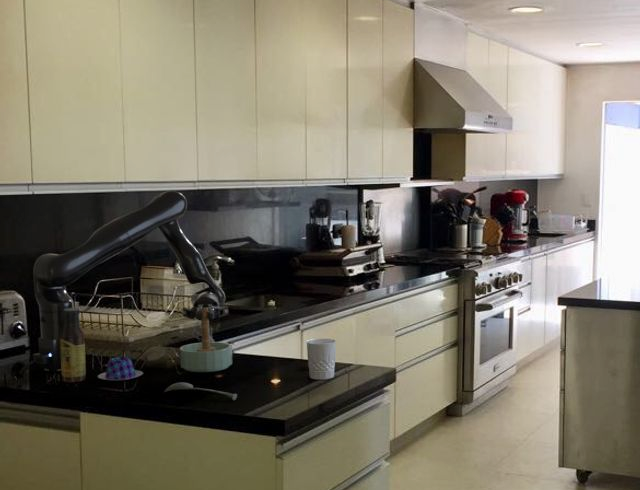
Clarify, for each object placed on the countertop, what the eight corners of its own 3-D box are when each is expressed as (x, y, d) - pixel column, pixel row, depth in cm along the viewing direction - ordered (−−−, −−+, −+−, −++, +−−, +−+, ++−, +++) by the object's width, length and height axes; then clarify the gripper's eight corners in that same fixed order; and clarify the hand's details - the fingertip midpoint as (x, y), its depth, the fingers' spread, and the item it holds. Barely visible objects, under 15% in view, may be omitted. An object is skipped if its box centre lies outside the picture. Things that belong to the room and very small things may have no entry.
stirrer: (206, 354, 265) (204, 309, 263) (193, 353, 267) (191, 308, 266) (219, 351, 269) (217, 307, 267) (206, 349, 272) (204, 305, 270)
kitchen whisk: (207, 356, 283) (206, 336, 282) (190, 338, 314) (190, 320, 313) (227, 355, 285) (226, 334, 284) (209, 337, 316) (208, 318, 316)
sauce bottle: (58, 380, 254) (54, 308, 251) (81, 377, 258) (77, 306, 255) (67, 384, 249) (62, 311, 246) (90, 381, 253) (86, 309, 250)
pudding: (122, 370, 265) (121, 352, 264) (152, 375, 259) (151, 356, 258) (88, 379, 255) (87, 360, 254) (118, 384, 249) (117, 365, 248)
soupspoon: (176, 391, 244) (159, 397, 238) (175, 378, 243) (157, 385, 237) (243, 396, 233) (226, 404, 228) (242, 383, 233) (225, 390, 227)
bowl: (207, 375, 259) (206, 353, 258) (169, 369, 266) (168, 348, 265) (242, 365, 271) (242, 344, 270) (206, 360, 279) (205, 340, 278)
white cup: (340, 374, 257) (339, 339, 256) (330, 381, 250) (329, 344, 249) (314, 373, 260) (313, 338, 258) (303, 379, 252) (302, 343, 251)
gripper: (182, 295, 279) (178, 304, 262) (229, 293, 281) (228, 302, 265) (183, 320, 280) (179, 330, 263) (230, 318, 282) (229, 328, 266)
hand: (204, 316), depth 264 cm, fingers closed on stirrer
